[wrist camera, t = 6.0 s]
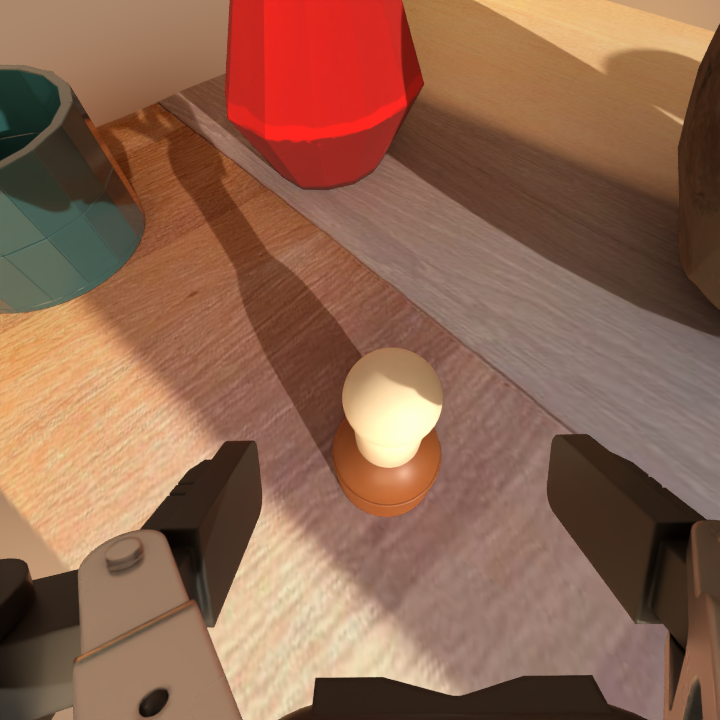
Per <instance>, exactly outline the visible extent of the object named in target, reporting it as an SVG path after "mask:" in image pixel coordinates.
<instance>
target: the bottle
mask: <svg viewBox="0 0 720 720" xmlns="http://www.w3.org/2000/svg"><path fill="white" fill-rule="evenodd" d="M228 26H229V27H228V43H227V61H226V79H225V96H226V107H227V117H228V119H229V120H230V121H231V123H232V124H233V125H234V126H235V127H236V128H237V129H238V130H239V131H240V132H241V133H242V134H243V135H244V136H245V137H246V138H247V139H248V141H249V142H250V143H251V144H252V145H253V146H254V147H255V148H256V149H257V150H258V151H259V152H260V153H261V154H262V155H263V156H264V157H265V159H266V160H267V161H268V162H269V163H270V164H271V165H272V166H273V167H274V168H275V169H276V170H277V171H278V172H279V173H280V174H281V175H282V177H283V178H285V179H287V180H288V181H290V182H292V183H293V184H295V185H297V186H298V187H300V188H302V189H309V190H329V189H334V188H338V187H343V186H347V185H352V184H355V183H356V182H358V181H359V180H361V179H363V178H364V177H366V176H367V175H369V174H370V173H372V172H373V171H374V170H375V168H376V167H377V166H378V164H379V163H380V161H381V160H382V159H383V157H384V155H385V153H386V152H387V150H388V148H389V146H390V144H391V143H392V141H393V139H394V137H395V136H396V134H397V132H398V130H399V128H400V127H401V125H402V123H403V121H404V119H405V118H406V116H407V114H408V112H409V110H410V109H411V107H412V105H413V103H414V102H415V100H416V98H417V96H418V94H419V93H420V91H421V89H422V87H423V85H424V81H423V78H422V74H421V70H420V66H419V63H418V59H417V55H416V51H415V48H414V44H413V40H412V37H411V33H410V29H409V25H408V22H407V18H406V14H405V10H404V7H403V3H402V0H230V5H229V24H228Z"/></svg>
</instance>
